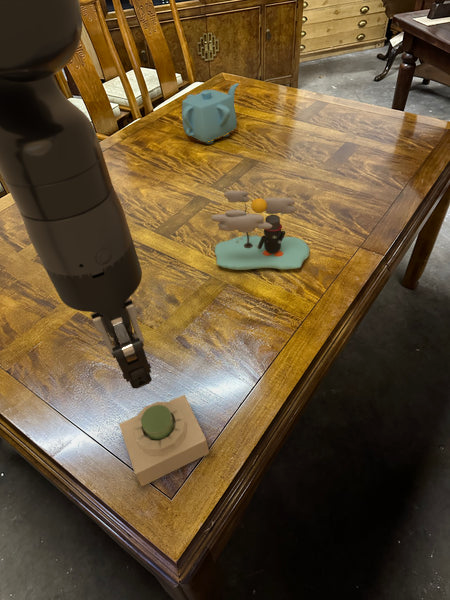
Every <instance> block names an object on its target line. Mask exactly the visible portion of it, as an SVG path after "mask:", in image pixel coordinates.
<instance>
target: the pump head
mask: <svg viewBox="0 0 450 600" xmlns="http://www.w3.org/2000/svg"><path fill="white" fill-rule="evenodd" d="M141 424H142V427H143V429H144V431H145V433H146V435H147V436H148V437H149V438H151V439H154V440H160V439H163V438H165V437H167V436H168V435H169V434H170V433H171V432H172V430H173V427H174V421H173V418H172V415H171V412H170V410H169V409H168V408H167V407H165V406H162V405H155V406H152V407H150V408H148V409H147V410H146V411H145V412H144V414H143V416H142V419H141Z"/></svg>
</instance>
